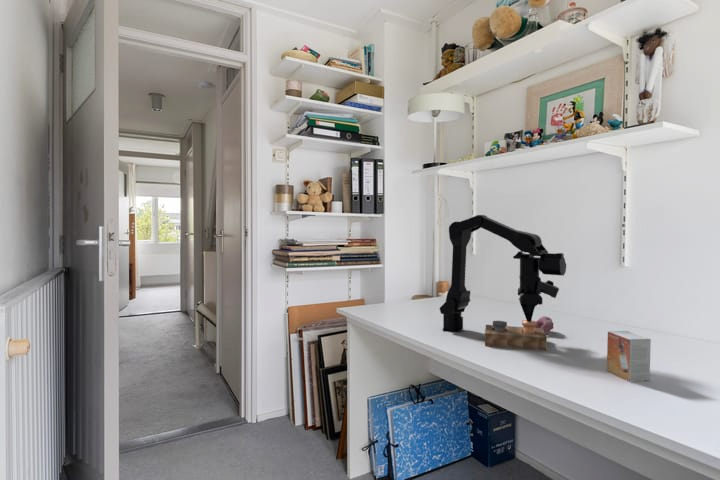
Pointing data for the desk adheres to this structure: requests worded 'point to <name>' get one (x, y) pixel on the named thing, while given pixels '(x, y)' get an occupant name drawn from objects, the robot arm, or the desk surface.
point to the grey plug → (500, 326)
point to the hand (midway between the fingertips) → (529, 321)
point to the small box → (628, 355)
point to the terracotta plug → (529, 326)
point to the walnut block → (516, 338)
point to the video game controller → (545, 324)
